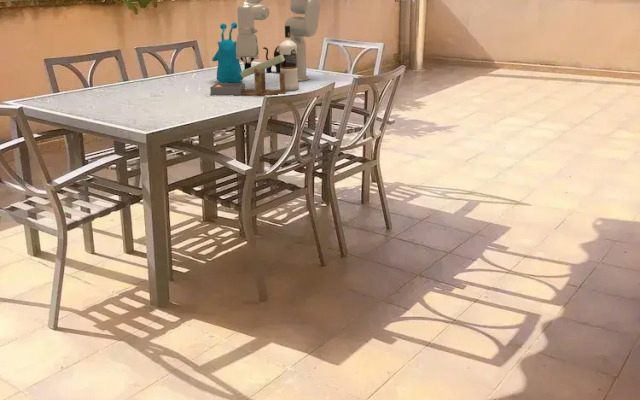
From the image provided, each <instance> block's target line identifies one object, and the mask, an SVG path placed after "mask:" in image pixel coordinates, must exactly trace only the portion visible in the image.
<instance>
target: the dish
mask: <svg viewBox="0 0 640 400" xmlns="http://www.w3.org/2000/svg"><path fill="white" fill-rule="evenodd" d="M216 85H220V86H221V87H215V86H216ZM245 90H246V83H245V82H241V83H240V82H237V83H232V82H226V83H220V82H218V83H217V82H216V83H214V84H212V85H211V86H210V96H211V95H233V96H234V97H237V96H238V97H239V96H241V94H242V93H243V92H244V91H245ZM241 97H242V96H241Z"/></svg>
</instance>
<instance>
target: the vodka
mask: <svg viewBox="0 0 640 400" xmlns="http://www.w3.org/2000/svg"><path fill="white" fill-rule="evenodd" d="M278 46H279V50H280V52H279V53H280V55H281V54H283V56H284V58H285V60H284V61H283V62H281V63H280V72H281V73H285V89H287V92H293V91H297V90H299V88H300V84H299V81H298V76H297V45H296V43H294V42H293V41H291V38H290V26H285V25H284V40H283V41H282V42H280V44H279V45H278Z"/></svg>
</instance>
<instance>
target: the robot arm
mask: <svg viewBox="0 0 640 400" xmlns="http://www.w3.org/2000/svg"><path fill="white" fill-rule="evenodd" d="M262 1H263V0H244V1H243V3H242V4H240V5H237V9H236V13H237V30H238V31H237V32H238V33H237V35H236V55H237V56H236V58H237V59H239V61H241V62H243V64H244V66H243V67H244V70H245V69H248V68H250V67H252V62H253V61H254V60H258V59H259V58H260V57H259V42H258V37H257V34H256V33H258V29H255V21H264V20H266V19H267V18H268V17H269V16H270V8H269V7H268V6H267V5H266V4H264V3H261V2H262ZM289 4H290V5H289V8H290V12H291V13H293V14H294V15H295V14H296V15H304V16H291V17H288V18H287V19H286V21H285V22H284V27H285V26H290V38H291V41H293V42H294V43H296V45H297V76H298V82H303V81H309V80H310V79H311V78H310V76H309V75H307V45H306V41H305V39H304V38H313V37H314V36H315V34H316V33H317V32H318V26H319V17H320V12H321V3H320V0H290V2H289ZM247 58H248V59H247Z"/></svg>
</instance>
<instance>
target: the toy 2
mask: <svg viewBox="0 0 640 400" xmlns="http://www.w3.org/2000/svg"><path fill="white" fill-rule="evenodd" d="M279 46H280V45H278V46H277V47H275V49H274V51H273V58H274V57H277V56H279V55H280V53H279V52H280V50H279ZM262 49H263V50H266V52H265V53H266V54H265V61H267V60H269V59H270V58H268V57H269V56H268V55H269V49H268V47H266V46H265V47H264V46H263V47H262ZM272 67H275V72H276V74H280V73H281V72H280V63H278V64H276V65H273V66H271V67H268V68H266V69H265V73H267V74H269V73H271V72H273V71H272Z"/></svg>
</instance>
